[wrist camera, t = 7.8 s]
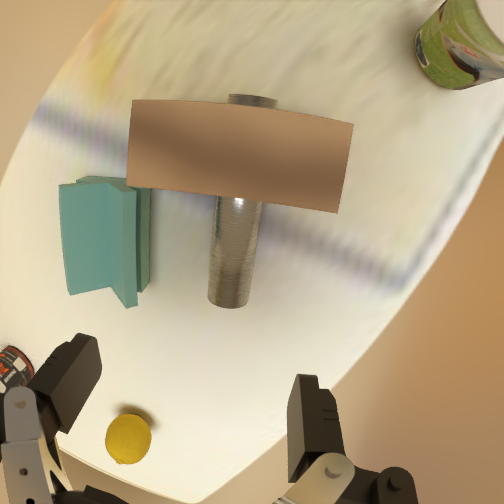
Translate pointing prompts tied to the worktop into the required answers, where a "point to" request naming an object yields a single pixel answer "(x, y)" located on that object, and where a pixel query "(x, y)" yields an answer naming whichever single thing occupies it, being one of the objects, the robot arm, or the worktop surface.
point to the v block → (105, 236)
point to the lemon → (128, 439)
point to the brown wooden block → (238, 152)
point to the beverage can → (463, 43)
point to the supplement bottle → (14, 369)
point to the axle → (235, 236)
